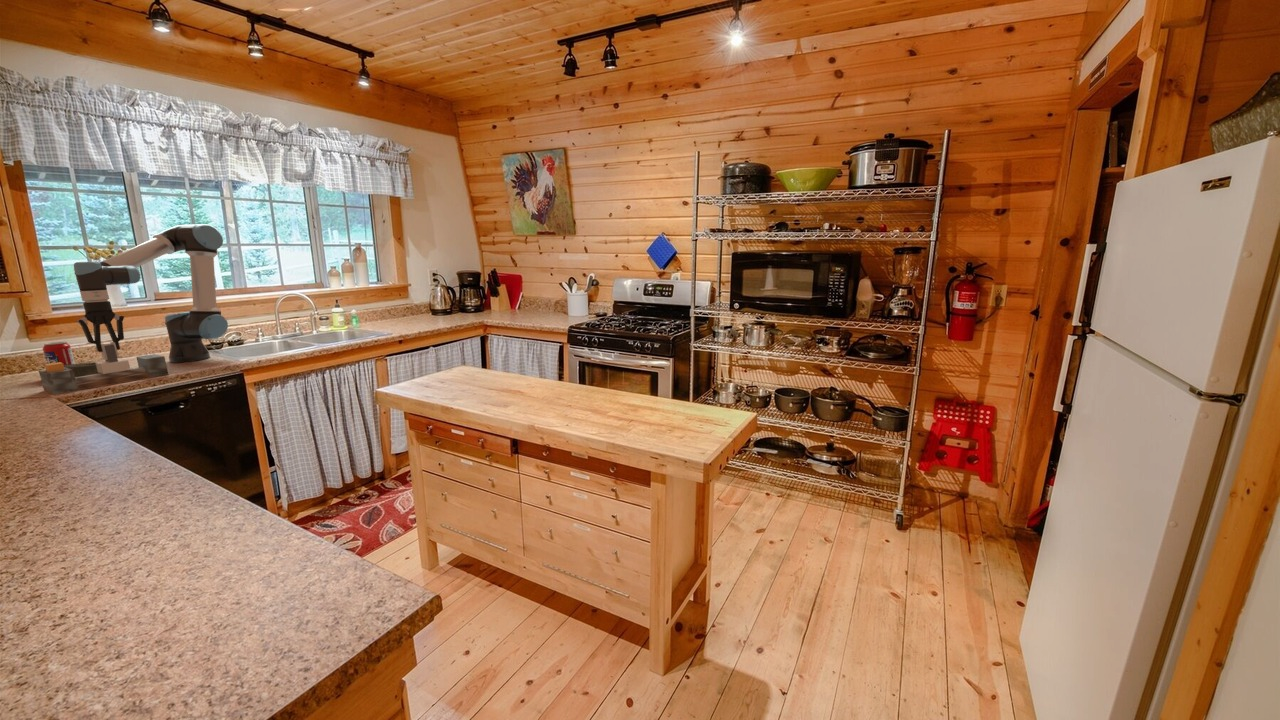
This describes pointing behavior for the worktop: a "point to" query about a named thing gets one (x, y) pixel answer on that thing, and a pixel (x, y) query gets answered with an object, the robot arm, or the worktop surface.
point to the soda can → (58, 353)
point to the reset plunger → (54, 367)
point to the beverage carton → (83, 369)
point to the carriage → (112, 362)
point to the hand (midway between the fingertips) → (111, 358)
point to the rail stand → (102, 376)
